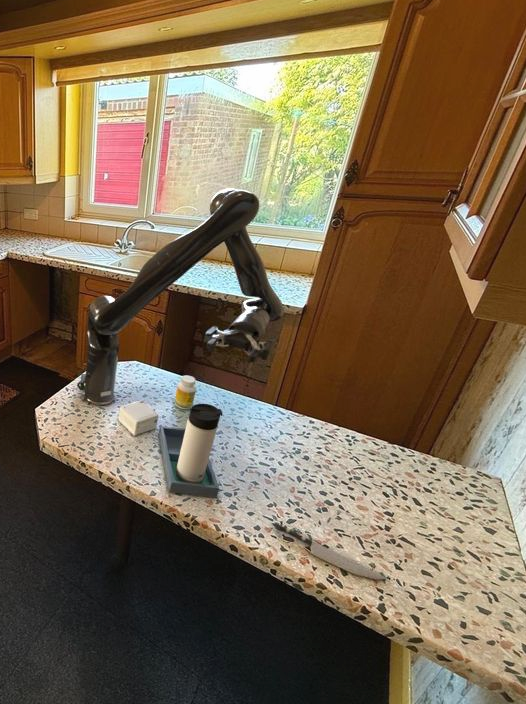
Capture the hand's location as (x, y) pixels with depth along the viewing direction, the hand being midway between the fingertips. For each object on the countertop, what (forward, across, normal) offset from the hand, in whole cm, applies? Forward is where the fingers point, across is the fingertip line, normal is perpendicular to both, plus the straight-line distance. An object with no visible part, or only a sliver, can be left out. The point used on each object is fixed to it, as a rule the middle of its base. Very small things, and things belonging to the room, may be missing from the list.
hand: (229, 353), depth 92 cm
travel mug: (+11, 0, +30) cm, 31 cm away
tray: (+7, -2, +30) cm, 31 cm away
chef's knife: (+14, +29, +30) cm, 44 cm away
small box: (0, -19, +30) cm, 36 cm away
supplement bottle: (-17, -12, +30) cm, 37 cm away
